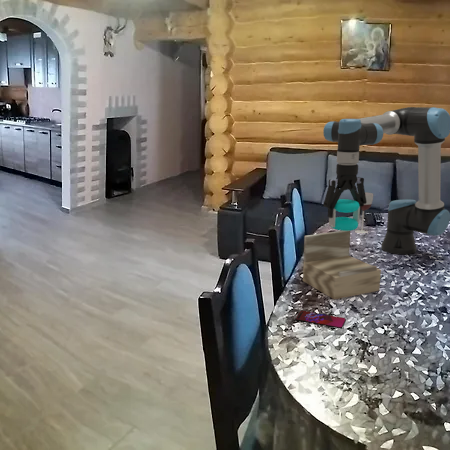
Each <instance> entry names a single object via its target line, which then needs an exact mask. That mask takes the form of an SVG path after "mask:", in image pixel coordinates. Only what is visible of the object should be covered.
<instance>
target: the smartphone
mask: <svg viewBox="0 0 450 450" xmlns="http://www.w3.org/2000/svg"><path fill="white" fill-rule="evenodd" d="M294 320H295V321H296V322H299V321H301V322H300V323H304V322H309V323H308V324H310V323H313V324H312V325H316V324H320V325H319V326H322V325H326V326H325V327H328V326H330V327H329V328H333V327H337V328H336V329H339V328H341V329H343V328H344V325H345V323H346V321H347V319H346V318H345V317H342V316H341V317H340V316H337V315H335V316H334V315H330V314H324V313H319V312H315V311H314V312H312V311H308V310H300V311H299V312H298V314H297V316H296V317H295V318H294ZM342 327H343V328H342Z"/></svg>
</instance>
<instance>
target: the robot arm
mask: <svg viewBox="0 0 450 450" xmlns="http://www.w3.org/2000/svg"><path fill="white" fill-rule="evenodd" d="M384 134H385V135H400V136H401V135H402V136H407V137H408V136H410V137H413V142H414V144H415V145H417V146H418V147H417V148H418V149H417V152H418V153H417V155H418V157H417V159H418V169H417V170H418V172H417V173H418V200H415V199H396V200H392V201H390V202H389V203H388V209H387V223H386V231H385V235H384V237H383V241H382V242H381V247H380V248H381V250H382V251H383V252H386V253H389V254H395V255H411V254H412V255H413V254H415V253H416V252H417V243H416V241H415V236H414V235H415V234H414V232H416V233H420V234H425V235H428V236H435V237H436V236H437V237H439V236H441V235H442V234H444V232H446V230H447V228H448V227H449V224H450V211H449V210H448V209H445V202H444V201H442V200H441V184H442V183H441V181H442V180H441V176H442V175H441V172H442V171H441V164H442V160H441V157H442V155H441V154H442V153H441V151H442V144H443V143H445V141H446V138H447V137H448V136H449V135H450V113H449V112H448V111H447V110H446V109H445V108H442V107H440V108H439V107H429V106H427V107H421V106H420V107H419V106H418V107H415V106H414V107H413V106H409V107H403V108H399V109H393V110H389V111H385V112H384V113H383V114H380V115H373V116H367V117H362V118H361V117H360V118H342V119H340V120H339V121H336V120H335V121H328V122H327V123H325V124H324V127H323V138H324V139H325V140H326V141H328V142H332V143H337V149H336V150H337V151H336V168H335V170H336V171H335V173H336V178H335V179H328V187H327V190H326V193H325V194H326V195H325V198H324V201H323V204H322V205H323V207H324V208H327V217H328V226H329V227H331V228H332V227H335V218H337V217H336V216H337V215H336V212H337V211H336V209H334V207H335V205H336V203H337V201H338V199H340V198H341V196H342V194H343V193H344V192H345V191H347V190H348V191H349V192H350V194H351V196H352V198H353V199H352V200H355V201H357V202H358V203H359V209H358V210H356V211H354V212H352V213H353V214H352V218H353V219H355V220H356V221H357V222H358V225H359V224H360V217H361V216H360V215H361V214H362V210H361V206H362V207H363V206H364V204H366V202H367V201H366V196H365V192H366V191H365V186H364V184H365V177H364V178H363V177H360V176H358V174H359V165H358V164H359V161H360V160H359V159H360V146H369V145H371V146H373V145H375V144H376V145H377V144H378V143H380V142H381V141H382V140H383V137H384Z"/></svg>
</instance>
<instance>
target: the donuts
mask: <svg viewBox="0 0 450 450" xmlns="http://www.w3.org/2000/svg"><path fill="white" fill-rule="evenodd" d="M334 209H336V212H339V213H345V214H346V213H347V214H348V213H353V212H354V211H356V210H358V209H359V203H358V202H357V201H355V200H354V199H348V198H339V199H338V201H337V203H336V205H335V207H334ZM358 227H359V224H358V222H357V221H356V220H355V219H353V217H349V216H348V217H347V216H337V217H335V227H331V228H332V229H333V230H336V231H350V232H351V231H356V230H357V228H358Z"/></svg>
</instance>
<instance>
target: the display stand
mask: <svg viewBox="0 0 450 450" xmlns="http://www.w3.org/2000/svg"><path fill="white" fill-rule="evenodd" d="M303 241H304V244H303V268H302V269H303V270H302V282H304V283H306V284H307V285H309V286H310V285H311V287H313V288H314V289H316V290H317V291H319V292H321V293H322V294H324V295H325V296H327V297H329V298H331V299H332V300H338V299H343V298H349V297H353V296H358V295H364V294H368V293H369V294H370V293H375V292H378V291H380V287H381V275H382V269H380V268H378V266H376V265H371V264H369V263H367V262H364V261H362V260H360V259H358V258H355V257H354V256H351V255H350V245H351V243H350V242H351V231H341V230H336V231H330V232H324V233H315V234H310V235H304V240H303Z"/></svg>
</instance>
